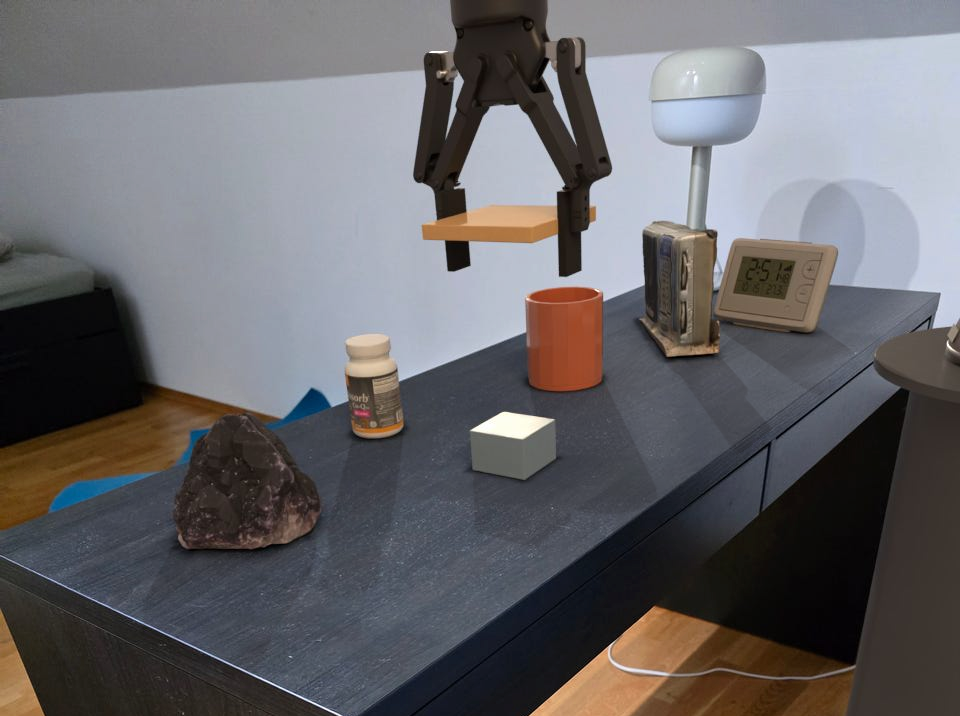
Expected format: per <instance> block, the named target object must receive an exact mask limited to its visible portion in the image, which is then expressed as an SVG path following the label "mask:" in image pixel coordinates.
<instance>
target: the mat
mask: <svg viewBox="0 0 960 716" xmlns="http://www.w3.org/2000/svg"><path fill="white" fill-rule="evenodd" d="M589 216H590V224H591V223H593V222H596V221H597V206H596V205H590V215H589ZM421 234H422V240H424V241H445V240H447V241H469V242H482V243H483V242H484V243H511V244H513V243H515V244H534V243H537V242H539V241H543V240H546V239H548V238H551V237H554V236H556V235H557V236H558V219H557V205H529V204H528V205H526V204H525V205H522V204H520V205H519V204H518V205H517V204H516V205H515V204H511V205H509V204H508V205H507V204H505V205H504V204H502V205H501V204H490V205H486V206H484V207H479V208H476V209H473V210H469V211H467V212H465V213H462V214H458V215H455V216H451V217H448V218H444V219H440V220H437V219H436V220H433V221H430V222H427V223H423V224H421Z"/></svg>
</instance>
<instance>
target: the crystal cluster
mask: <svg viewBox="0 0 960 716" xmlns="http://www.w3.org/2000/svg"><path fill="white" fill-rule="evenodd" d="M188 466H189V468H188V470H187V472H186V474H185V476H184V477H183V484H182V485H181V487H180V488H179V490H178V491H177V492H176V493H175V494H174V509H173V511H172V515H173V516H172V517H173V520H174V522H175V529H176V531H177V532H178V536H177V540H178V541H179V543H180V544H181V547H182V548H185V549H186V550H193V549H195V550H204V549H219V550H227V549H228V550H230V549H236V550H237V549H238V550H239V549H240V550H241V549H248V550H254V549H259V548H265V547H267V546H269V545H277V544H278V545H279V544H288V543H290V542H292V541H294V540H296V539H299V538H300V537H303V536H304V535H306V534H308V533H309V532H311V530H313V528H314V527H315V525H316V523H317V522H318V518H319V517H320V514H321V512H322V502H321V499H320V494H319V491H318V488H317V485H316V482H315V481H314V480H313V479H312V477H311V476H309V474H307V473H305V472H303V471H301V470H300V468H299V466H298V464H297V461H296V459H295V458H294V456H293V455H292V453H291V452H289V451H288V449H287V445H286V444H285V442H284V441H283V440H282V438H281V437H280V436H278V435H277V434H276V433H275V432H274V431H273V430H272V429H271V428H270V427H269V426H267V425H266V424H264V423H263V420H261V419H260V418H259V417H258V416H256V415H255V414H253V413H250V412H244V413H242V412H241V413H238V414H234V413H228V414H222V415H221V417H219V418H217V419H216V420H215V421H214V423H213V424H212V426H211V427H210V429H209V430H208V432H207V433H203V434H202V435H201V436H200V437H199V438H198V439H196V441H195V443H194V444H193V446H192V450H191V454H190V456H189V464H188Z"/></svg>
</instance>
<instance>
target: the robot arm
mask: <svg viewBox="0 0 960 716" xmlns="http://www.w3.org/2000/svg"><path fill="white" fill-rule="evenodd" d="M449 5H450V18H451V23H452V25H453V28H454V31H455V35H456V41H455V45H454V49H453V51H446V50H443V51H428V52H426V53H425V54H424V55H423V68H424V69H423V70H424V79H425V89H424V95H423V103H422V110H421V116H420V122H419V123H420V124H419V129H418V130H419V131H418V136H417V137H418V138H417V144H416V149H415V150H416V151H415V158H414V165H413V171H412V177H413V180H414V182H415V183H417V184H423V185H425V186H428V187H429V188H431V190H432V191H433V194H434V195H433V196H434V205H435V212H436V213H435V216H436V221H437V220H440V219H444V218H448V217H451V216H455V215H458V214H462V213H465V212H468V211H467V198H466V188H464V187H459V186H460V185H461V184H462V183H461V182H460V181H459V179H460V176H461V173H462V170H463V168H464V165H465V164H466V161H467V158H468V155H469V153H470V151H471V149H472V146H473V143H474V140H475V138H476V135H477V134H478V130H479V128H480V126H481V123H482V121H483V119H484V117H485V115H487V113H488V112H489V110H490V108H491V107H498V106H505V107H506V106H518V107H519V108H520V110H521V111H522V112H523V113H524V114H525V115H526V116H527V117H528V119H529V121H530V122H531V124H532V126H533V128H534V130H535V132H536V133H537V136H538V137H539V139H540V141H541V143H542V145H543V146H544V148H545V150H546V152H547V154H548V156H549V158H550V160H551V161H552V163H553V165H554V167H555V169H556V170H557V172H558V174H559V176H560V178H561V180H562V181H563V184H564V185H563V186H562V187H561V190H557V191H556V206H557V219H558V234H557V258H558V259H557V261H558V262H557V265H558V277H559V278H568V277H570V276H573V275H575V274H577V273H580V272H582V271H583V267H582V266H583V265H582V264H583V263H582V261H583V260H582V233H583V232H586V231H588V230H589V227H590V224H591V223H590V216H589V215H590V206H591V202H590V201H591V199H590V197H591V196H590V195H591V193H590V191H591V187H592V185H593V184H594V183H595V182H598V181H600V180H602V179H604V178H607V177H609V176H610V175H611V174H612V171H613V165H612V162H611V161H612V160H611V157H610V154H609V149H608V146H607V143H606V139H605V135H604V133H603V128H602V125H601V121H600V119H599V115H598V110H597V108H596V104H595V101H594V97H593V93H592V89H591V86H590V82H589V78H588V75H587V72H586V70H587V69H586V66H587V65H586V63H587V60H586V53H587V51H586V47H587V46H586V41H585V40H584V38H583V37H580V36H573V37H572V36H571V37H561V38H559V40H553V41H551V39H550V37H549V34H548V31H547V19H548V15H549V14H548V12H549V0H449ZM550 62H551V63H550ZM549 63H550V67H551V68H552V69H553V71H554V72H555V73H556V76H557V82H558V87H559V90H560V94H561V97H562V100H563V104H564V107H565V111H566V114H567V118H568V122H569V124H570V128H571V131H572V134H573V136H572V134H571V133H570V131H569V129H568V127H567V125H566V124H565V121H564V120H563V118H562V115H561V114H560V112H559V110H558V108H557V107H556V105H555V102H554V100H555V98H554V95H553V93H552V91H551V89H550V87H549V85H548V83H547V82H546V81H547V80H545V78H544V76H543V75H544V73H545V71H546V69H547V67H548V64H549ZM458 75H459V76H460V78H461V79H462V80H463V83H462V85H461V88H460V91H459V93H458V96H457V98H456V101H455V109H456V110H455V113H454V116H453V119H452V121H451V124H450V127H449V120H450V116H451V115H450V114H451V109H452V102H453V97H454V88H455V80H456V78H457V77H458ZM448 127H449V129H448ZM456 187H457V188H456ZM458 187H459V188H458ZM444 249H445V258H446V270H447V272H449V273H451V272H453V273H455V272H457V271H460V270H463V269H466V268H469V267H471V265H472V264H471V263H472V262H471V250H470V241H447V240H444ZM950 327H951V326H950ZM948 337H949V340H948V342H947V346H946V351H945V357H946V358H947V359H948V360H949V361H950V362H952V363H954V364H956V365H958V366H960V317H959V319H958V320H957V321H956V323H953V324H952V327H951V329H950V331H949V333H948Z"/></svg>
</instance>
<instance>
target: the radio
mask: <svg viewBox="0 0 960 716" xmlns="http://www.w3.org/2000/svg"><path fill="white" fill-rule="evenodd" d="M718 234H719V233H718V231H717V229H713V228H707V229H699V228H694V229H692V228H690V226H688V225H686V224H681V223H675V222H673V221H671V220H670V221H669V220H657V221H655V220H654V221H652V223H651V224H649V225H646V226H645V227H644V228H643V229H642V258H643V260H642V261H643V276H644V302H645V303H644V304H645V314H644V317H643V318H638V320H639V321H640V323H641V324H642V325H643V327H644V328H645V329H646V330H647V331H648V333H649V335H650V336H651V338H653V339H654V341H655V343H656V344H657V345H658V347H659V348H660V349H661V351H662V352H663V353H664V355H665V356H666V357H670V358H671V357H677V356H678V357H680V356H694V355H707V354H716V353H720V348H719V347H720V346H719V345H720V342H721V334H720V332H721V331H720V330H721V329H720V320H713V300H714V290H715V287H714V286H715V283H714V277H715V276H714V274H715V266H716V262H717V258H718V247H717V245H718V236H719V235H718Z"/></svg>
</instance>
